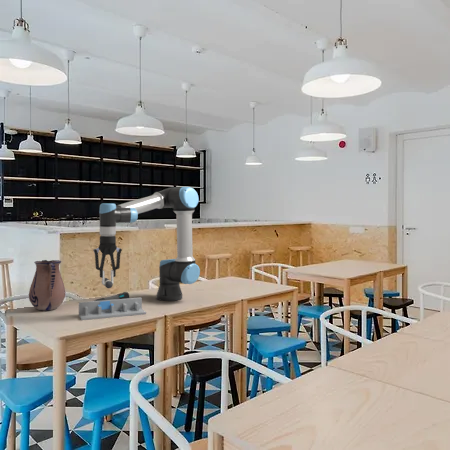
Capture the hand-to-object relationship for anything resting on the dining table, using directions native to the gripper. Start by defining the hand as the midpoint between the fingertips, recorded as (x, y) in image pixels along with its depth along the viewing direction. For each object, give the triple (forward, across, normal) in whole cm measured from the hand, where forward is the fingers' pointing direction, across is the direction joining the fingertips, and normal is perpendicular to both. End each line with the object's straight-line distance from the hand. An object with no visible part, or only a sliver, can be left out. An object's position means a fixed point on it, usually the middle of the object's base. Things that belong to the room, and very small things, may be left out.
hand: (107, 283), depth 215 cm
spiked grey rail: (+16, -3, -4) cm, 17 cm away
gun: (+17, -6, -23) cm, 29 cm away
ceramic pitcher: (+16, +25, -28) cm, 41 cm away
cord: (+2, 0, -1) cm, 2 cm away
